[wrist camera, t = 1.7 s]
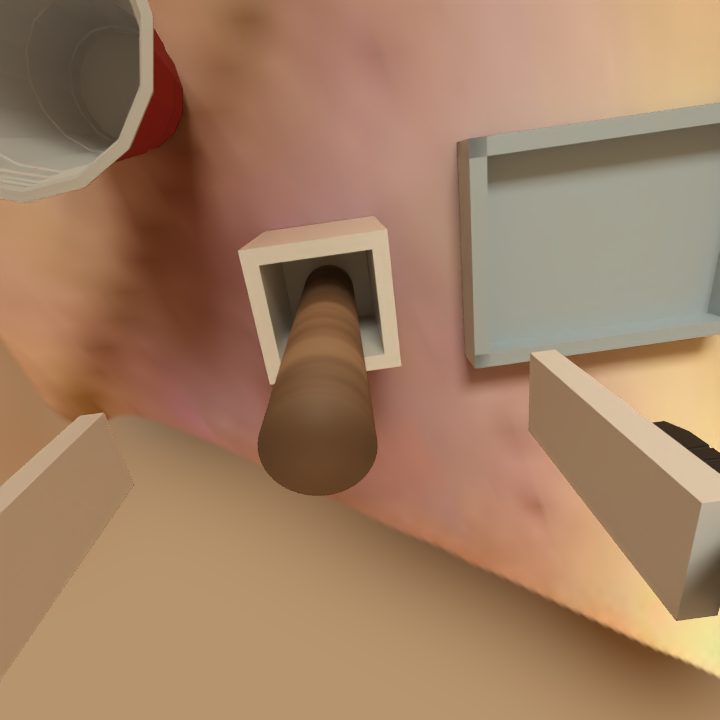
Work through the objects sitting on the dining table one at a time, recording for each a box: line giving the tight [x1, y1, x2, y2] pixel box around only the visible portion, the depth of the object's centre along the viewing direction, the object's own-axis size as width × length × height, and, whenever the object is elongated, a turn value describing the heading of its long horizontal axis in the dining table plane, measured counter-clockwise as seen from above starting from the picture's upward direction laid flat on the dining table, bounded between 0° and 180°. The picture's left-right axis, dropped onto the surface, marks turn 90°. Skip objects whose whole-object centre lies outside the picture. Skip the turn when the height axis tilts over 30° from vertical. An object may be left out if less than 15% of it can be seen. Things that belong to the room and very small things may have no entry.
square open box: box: [238, 216, 401, 385], centre depth 25 cm, size 7×7×8 cm
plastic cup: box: [0, 0, 183, 203], centre depth 18 cm, size 11×11×12 cm
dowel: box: [258, 265, 377, 496], centre depth 20 cm, size 3×3×18 cm
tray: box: [457, 103, 720, 369], centre depth 27 cm, size 14×18×2 cm
